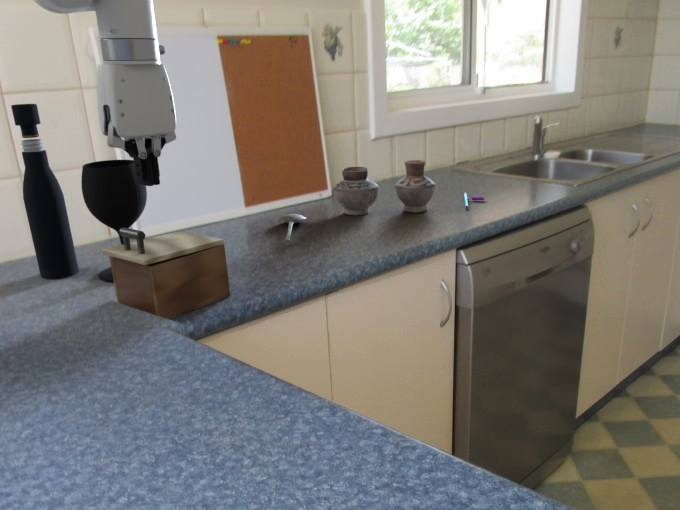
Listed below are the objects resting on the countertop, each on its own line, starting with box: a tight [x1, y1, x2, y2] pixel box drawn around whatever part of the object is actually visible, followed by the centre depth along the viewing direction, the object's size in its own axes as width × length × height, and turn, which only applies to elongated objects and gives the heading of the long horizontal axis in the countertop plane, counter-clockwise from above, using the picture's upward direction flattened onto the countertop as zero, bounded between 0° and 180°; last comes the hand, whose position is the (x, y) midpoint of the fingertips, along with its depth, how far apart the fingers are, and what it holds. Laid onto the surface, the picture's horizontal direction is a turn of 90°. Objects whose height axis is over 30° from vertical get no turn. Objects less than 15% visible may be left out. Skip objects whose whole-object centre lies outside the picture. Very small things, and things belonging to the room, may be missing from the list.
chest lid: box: [101, 227, 225, 265], centre depth 103 cm, size 14×11×4 cm
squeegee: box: [463, 192, 485, 209], centre depth 170 cm, size 15×1×5 cm
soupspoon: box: [277, 213, 307, 247], centre depth 145 cm, size 22×3×7 cm
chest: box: [108, 243, 231, 320], centre depth 105 cm, size 14×11×9 cm
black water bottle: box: [10, 103, 80, 280], centre depth 117 cm, size 6×6×30 cm
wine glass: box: [80, 159, 148, 283], centre depth 118 cm, size 10×10×20 cm
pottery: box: [332, 159, 436, 216], centre depth 161 cm, size 11×25×12 cm, turn 97°
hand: (149, 184), depth 99 cm, fingers closed
